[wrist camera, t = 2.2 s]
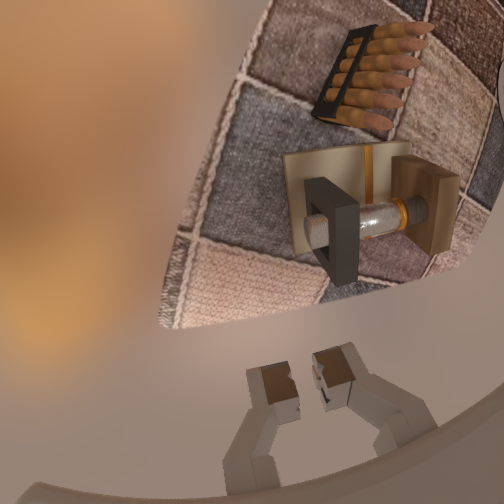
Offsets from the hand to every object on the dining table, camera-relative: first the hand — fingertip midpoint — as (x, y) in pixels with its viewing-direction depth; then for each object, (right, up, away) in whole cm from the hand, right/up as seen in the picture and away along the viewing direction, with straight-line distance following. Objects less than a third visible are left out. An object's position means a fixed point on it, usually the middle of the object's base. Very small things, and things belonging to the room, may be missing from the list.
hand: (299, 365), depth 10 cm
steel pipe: (+9, +8, +16) cm, 20 cm away
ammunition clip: (+7, +22, +14) cm, 26 cm away
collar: (+4, +8, +17) cm, 20 cm away
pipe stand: (+9, +11, +20) cm, 25 cm away
